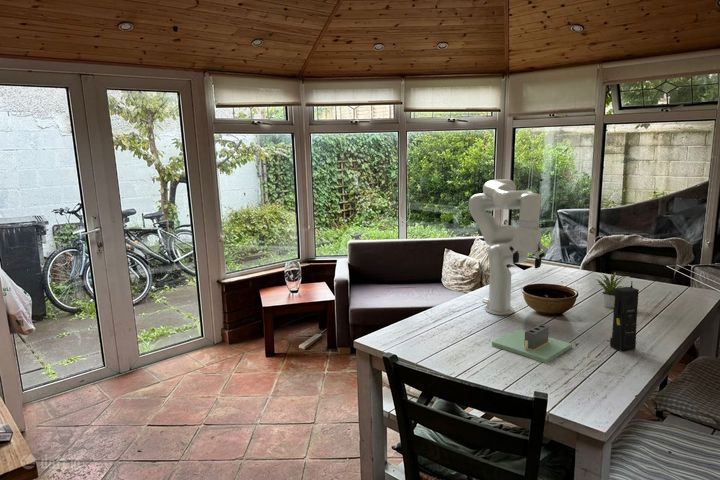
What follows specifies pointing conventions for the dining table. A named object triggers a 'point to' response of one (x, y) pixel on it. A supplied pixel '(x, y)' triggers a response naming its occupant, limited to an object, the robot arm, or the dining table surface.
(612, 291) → the house plant
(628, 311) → the portable radio
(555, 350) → the header board
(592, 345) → the dining table surface
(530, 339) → the block
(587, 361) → the dining table surface
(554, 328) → the dining table surface
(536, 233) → the robot arm
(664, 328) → the dining table surface
